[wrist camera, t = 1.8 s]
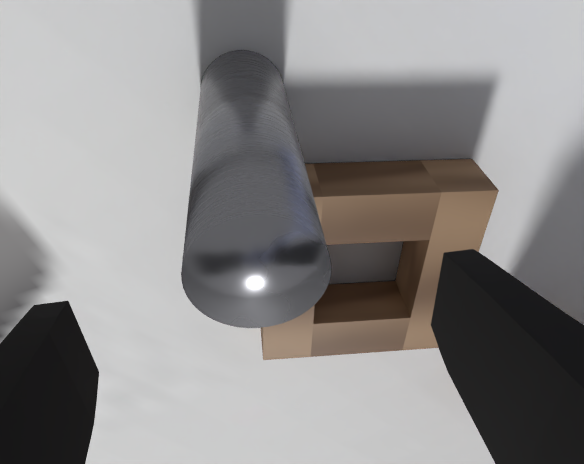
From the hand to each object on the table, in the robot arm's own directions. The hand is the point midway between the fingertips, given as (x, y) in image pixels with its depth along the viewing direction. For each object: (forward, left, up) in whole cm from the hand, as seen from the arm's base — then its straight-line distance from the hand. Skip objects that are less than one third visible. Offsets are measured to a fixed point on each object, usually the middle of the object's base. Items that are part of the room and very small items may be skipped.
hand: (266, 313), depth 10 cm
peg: (0, 0, -11) cm, 11 cm away
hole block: (+7, +5, -11) cm, 14 cm away
